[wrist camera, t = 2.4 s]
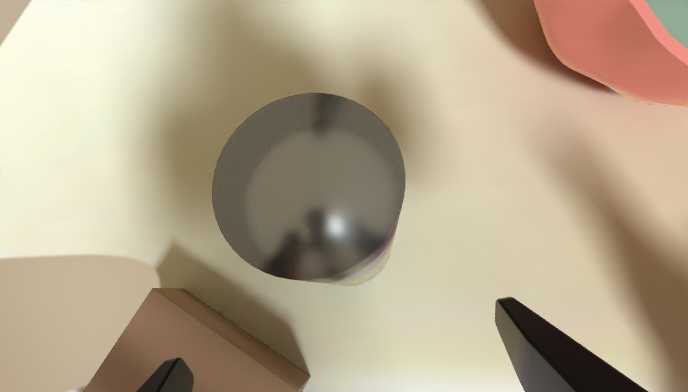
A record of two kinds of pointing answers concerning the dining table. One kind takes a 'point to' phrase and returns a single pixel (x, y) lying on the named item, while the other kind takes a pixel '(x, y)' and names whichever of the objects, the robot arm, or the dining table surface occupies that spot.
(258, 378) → the walnut box
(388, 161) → the tea tin
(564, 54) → the cell model
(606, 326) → the dining table surface
